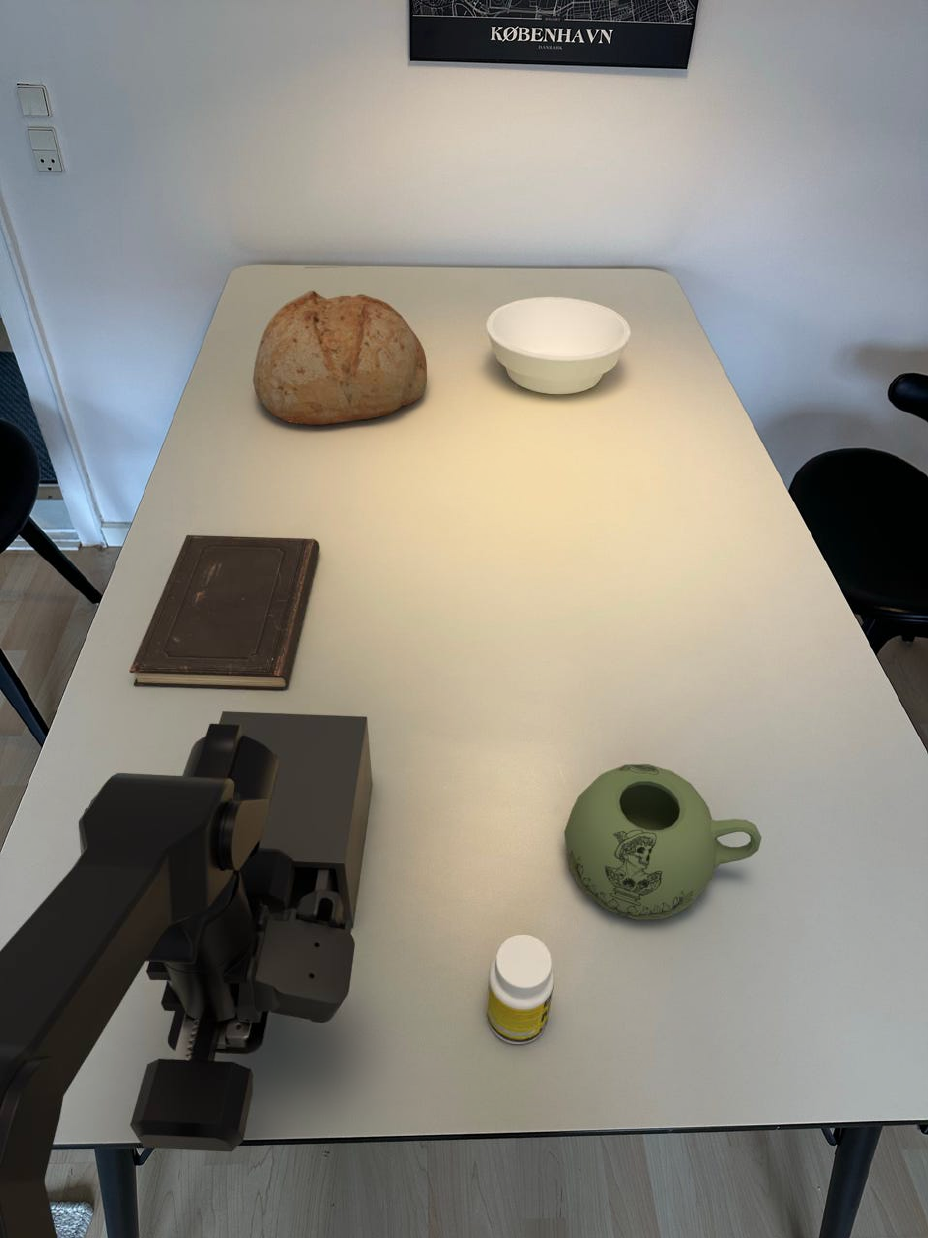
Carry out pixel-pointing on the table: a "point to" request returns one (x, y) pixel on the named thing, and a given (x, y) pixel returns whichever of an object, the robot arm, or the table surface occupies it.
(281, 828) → the cabinet
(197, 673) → the hardcover book
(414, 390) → the bread
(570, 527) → the table surface
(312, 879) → the drawer
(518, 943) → the supplement bottle
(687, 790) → the mug
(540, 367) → the bowl
